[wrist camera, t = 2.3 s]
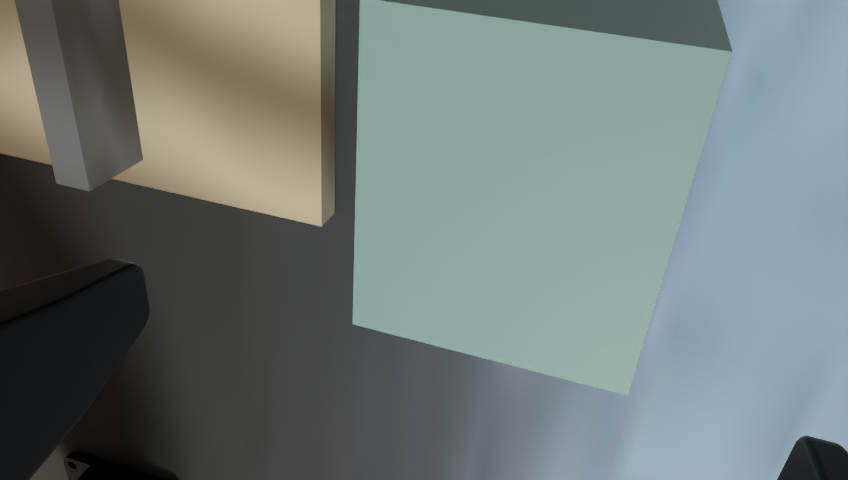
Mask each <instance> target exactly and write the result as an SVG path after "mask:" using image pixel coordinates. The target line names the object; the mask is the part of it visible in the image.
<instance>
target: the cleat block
mask: <svg viewBox="0 0 848 480" xmlns="http://www.w3.org/2000/svg"><path fill="white" fill-rule="evenodd" d="M731 55H732V49H731V45H730V42H729V38H728V35H727V31H726V28H725V24H724V21H723V18H722V14H721V11H720V7H719V4H718V0H360V21H359V65H358V110H357V154H356V198H355V243H354V287H353V324H354V325H358V326H362V327H365V328H369V329H373V330H377V331H381V332H385V333H388V334H392V335H396V336H400V337H404V338H408V339H412V340H415V341H419V342H423V343H427V344H431V345H435V346H438V347H442V348H446V349H450V350H454V351H458V352H462V353H465V354H469V355H473V356H477V357H481V358H485V359H488V360H492V361H496V362H500V363H504V364H508V365H512V366H515V367H519V368H523V369H527V370H531V371H535V372H539V373H542V374H546V375H550V376H554V377H558V378H562V379H565V380H569V381H573V382H577V383H581V384H585V385H589V386H592V387H596V388H600V389H604V390H608V391H612V392H615V393H619V394H623V395H627V396H628V393H629V389H630V386H631V383H632V379H633V376H634V373H635V370H636V366H637V363H638V360H639V357H640V353H641V350H642V347H643V343H644V340H645V337H646V334H647V330H648V327H649V324H650V320H651V317H652V314H653V311H654V307H655V304H656V301H657V297H658V294H659V291H660V288H661V284H662V281H663V278H664V274H665V271H666V268H667V265H668V261H669V258H670V255H671V251H672V248H673V245H674V242H675V238H676V235H677V232H678V229H679V225H680V222H681V219H682V215H683V212H684V209H685V206H686V202H687V199H688V196H689V192H690V189H691V186H692V183H693V179H694V176H695V173H696V169H697V166H698V163H699V160H700V156H701V153H702V150H703V146H704V143H705V140H706V137H707V133H708V130H709V127H710V123H711V120H712V117H713V114H714V110H715V107H716V104H717V100H718V97H719V94H720V91H721V87H722V84H723V81H724V78H725V74H726V71H727V68H728V64H729V61H730V58H731Z"/></svg>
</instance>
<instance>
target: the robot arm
mask: <svg viewBox="0 0 848 480" xmlns="http://www.w3.org/2000/svg"><path fill="white" fill-rule="evenodd" d="M148 317H149V303H148V297H147V291H146V285H145V279H144V273H143V270H142V269H141V267H140V266H139V265H138V264H136V263H133V262H129V261H125V260H121V259H116V258H111V259H107V260H103V261H100V262H96V263H93V264H89V265H86V266H82V267H79V268H75V269H72V270H68V271H65V272H61V273H58V274H54V275H51V276H47V277H44V278H41V279H37V280H34V281H30V282H27V283H23V284H20V285H16V286H13V287H9V288H6V289H2V290H0V480H30V478H31V477H32V476H33V475H34V474H35V472H36V471H37V470H38V469H39V468H40V466H41V465H42V464H43V463H44V462H45V460H46V459H47V458H48V457H49V456H50V454H51V453H52V452H53V451H54V450H55V448H56V447H57V446H58V445H59V444H60V442H61V441H62V440H63V439H64V438H65V436H66V435H67V434H68V433H69V432H70V430H71V429H72V428H73V427H74V426H75V424H76V423H77V422H78V421H79V420H80V418H81V417H82V416H83V415H84V413H85V412H86V411H87V409H88V408H89V407H90V406H91V404H92V403H93V401H94V400H95V399H96V397H97V396H98V394H99V393H100V392H101V390H102V389H103V387H104V386H105V384H106V383H107V381H108V380H109V378H110V377H111V375H112V374H113V372H114V371H115V369H116V368H117V366H118V365H119V363H120V362H121V361H122V359H123V358H124V356H125V355H126V353H127V352H128V350H129V349H130V347H131V346H132V344H133V343H134V341H135V340H136V338H137V337H138V335H139V334H140V332H141V331H142V330H143V328H144V326H145V325H146V323H147V320H148ZM64 465H65V468H66V472H67V475H68V479H69V480H156V479H153V478H150V477H147V476H144V475H141V474H138V473H136V472H133V471H130V470H127V469H124V468H121V467H118V466H115V465H112V464H109V463H106V462H103V461H100V460H97V459H94V458H91V457H88V456H85V455H82V454H79V453H76V452H71V453H70V454H69V455H68V456H67V457H66V458H65V459H64ZM777 480H848V452H847V451H846V450H845V449H844V448H843V447H842V446H840V445H839V444H836V443H833V442H829V441H825V440H822V439H818V438H814V437H810V436H804V437H801V438H800V439H799V440H798V441H797V442H796V443H795V445H794V447H793V449H792V451H791V453H790V455H789V457H788V459H787V461H786V463H785V465H784V467H783V469H782V471H781V473H780V475H779V477H778V479H777Z"/></svg>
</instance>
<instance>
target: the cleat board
mask: <svg viewBox="0 0 848 480" xmlns="http://www.w3.org/2000/svg"><path fill="white" fill-rule="evenodd" d="M335 14H336V0H0V153H2V154H6V155H10V156H15V157H19V158H23V159H28V160H32V161H37V162H41V163H45V164H50V165H52V166H53V171H54V175H55V179H56V183H57V184H61V185H65V186H69V187H74V188H78V189H82V190H86V191H91V190H93V189H95V188H96V187H98V186H100V185H101V184H103V183H105V182H106V181H108V180H110V179H115V180H120V181H124V182H128V183H133V184H137V185H142V186H146V187H150V188H155V189H159V190H164V191H168V192H172V193H177V194H181V195H185V196H190V197H194V198H199V199H203V200H207V201H212V202H216V203H220V204H225V205H229V206H234V207H238V208H242V209H247V210H251V211H255V212H260V213H264V214H269V215H273V216H277V217H282V218H286V219H291V220H295V221H299V222H304V223H308V224H312V225H317V226H321V227H322V226H323V225H324V224H325V222H326V221H327V220H328V219H329V218H330V217H331V216H332V215H333V214H334V213H335Z"/></svg>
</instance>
